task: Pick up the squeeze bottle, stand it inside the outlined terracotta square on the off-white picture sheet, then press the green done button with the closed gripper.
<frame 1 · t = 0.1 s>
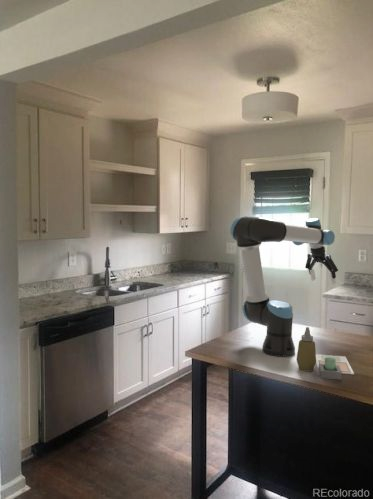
hand: (323, 281, 237), 28 cm above the table, tool tilted 20°, fingers open, 13 cm apart
button collar: (329, 375, 173), on the table
squeeze bottle: (305, 369, 179), on the table
picture sheet: (332, 364, 185), on the table
done button: (330, 365, 172), point 4 cm above the table, slide at 0.0 cm
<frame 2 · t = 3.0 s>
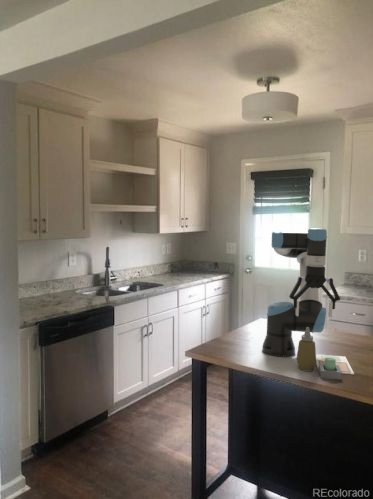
hand: (313, 316, 177), 23 cm above the table, tool pointing down, fingers open, 13 cm apart
nothing on the table moved.
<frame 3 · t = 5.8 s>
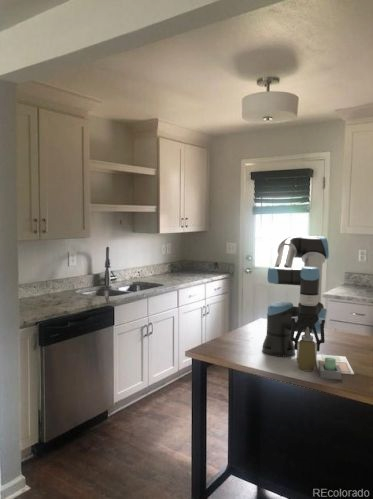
hand: (306, 357, 178), 5 cm above the table, tool pointing down, fingers closed on squeeze bottle, 6 cm apart
squeeze bottle: (305, 369, 179), on the table, touching gripper
everything else where it was.
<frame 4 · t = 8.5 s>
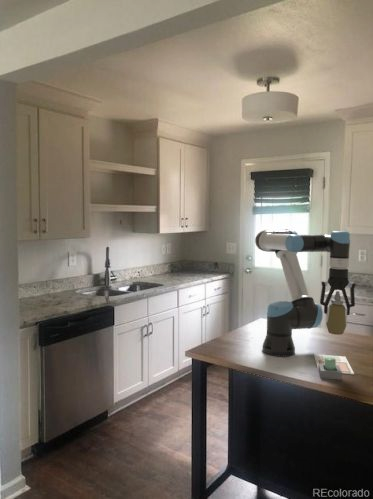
hand: (336, 321, 179), 20 cm above the table, tool pointing down, fingers closed on squeeze bottle, 6 cm apart
squeeze bottle: (335, 333, 180), point 15 cm above the table, touching gripper
everything else where it was.
when the fingers open (6 cm above the table, at t = 11.2 s): squeeze bottle stays where it is, resting on picture sheet.
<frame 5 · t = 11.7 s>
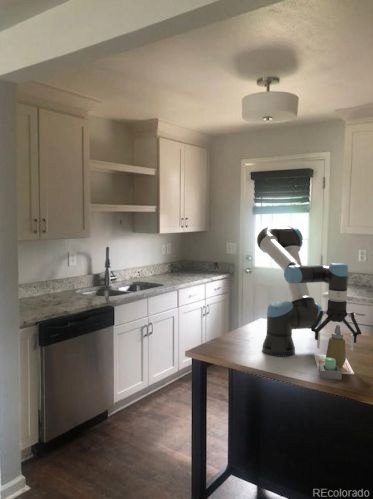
hand: (334, 348, 181), 8 cm above the table, tool pointing down, fingers open, 13 cm apart
squeeze bottle: (335, 366, 181), resting on picture sheet
everything else where it was.
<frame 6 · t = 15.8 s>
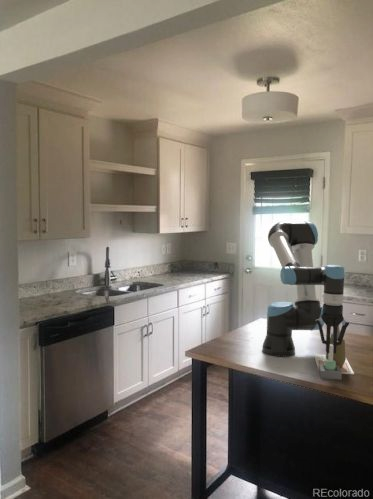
hand: (330, 360, 172), 6 cm above the table, tool pointing down, fingers closed
done button: (330, 367, 172), point 3 cm above the table, slide at 0.8 cm, touching gripper
everything else where it was.
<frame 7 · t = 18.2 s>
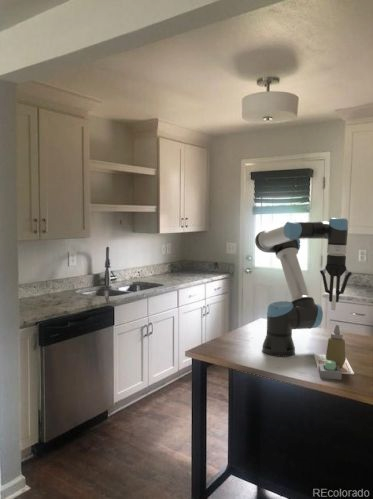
hand: (333, 309, 181), 25 cm above the table, tool pointing down, fingers closed
done button: (329, 368, 172), point 3 cm above the table, slide at 1.1 cm
everything else where it was.
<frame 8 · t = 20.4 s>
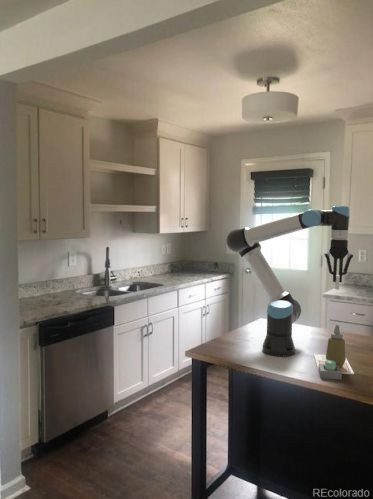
hand: (336, 288, 200), 30 cm above the table, tool pointing down, fingers closed
nothing on the table moved.
at the end: squeeze bottle inside the target area (0.5 cm from its centre), resting on picture sheet; squeeze bottle tilted 0°; done button slide at 1.1 cm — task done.
